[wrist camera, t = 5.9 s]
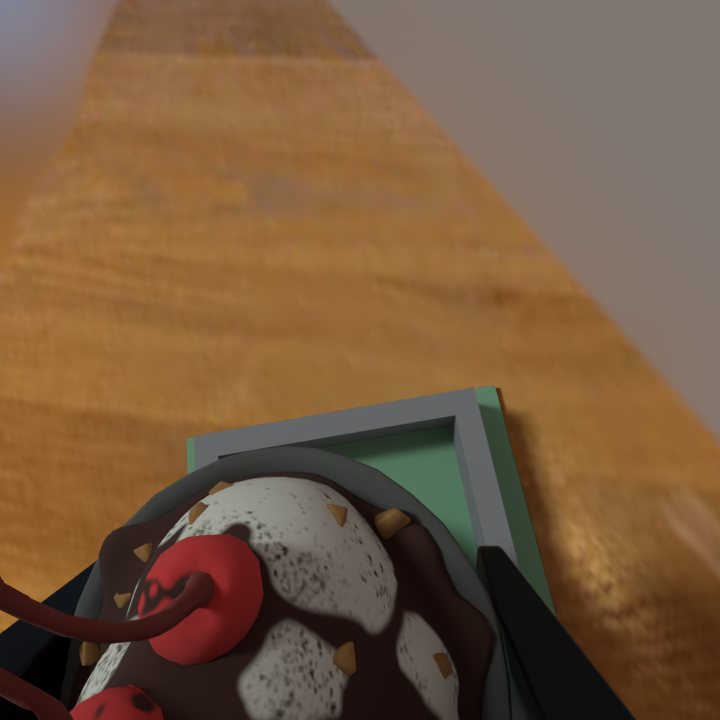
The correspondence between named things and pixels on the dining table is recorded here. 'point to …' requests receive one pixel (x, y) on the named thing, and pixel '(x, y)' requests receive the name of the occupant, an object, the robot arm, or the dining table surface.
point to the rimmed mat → (420, 463)
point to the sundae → (276, 605)
